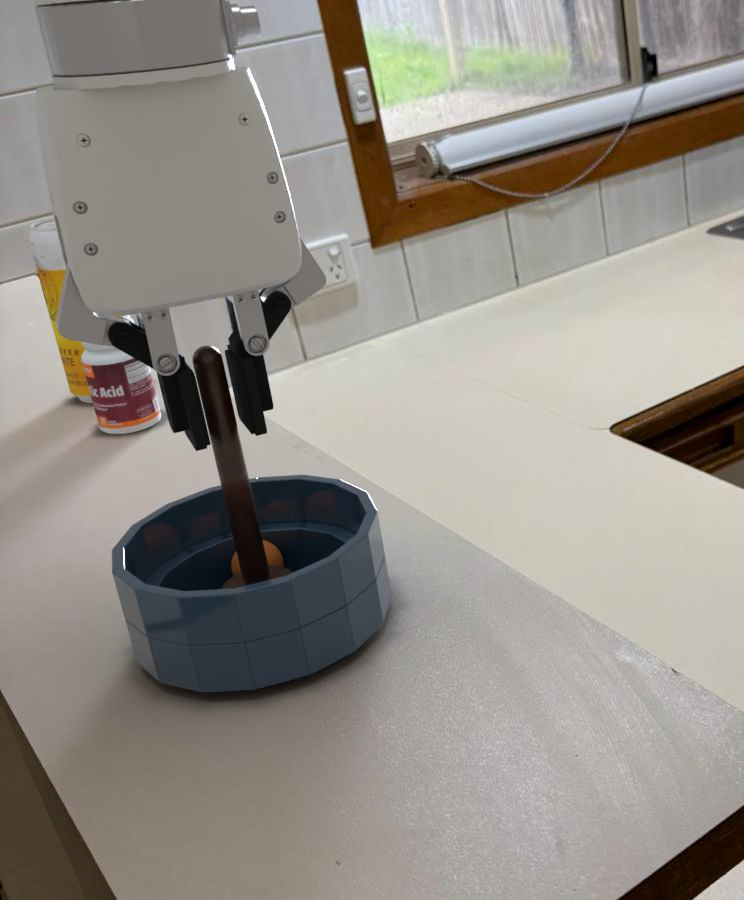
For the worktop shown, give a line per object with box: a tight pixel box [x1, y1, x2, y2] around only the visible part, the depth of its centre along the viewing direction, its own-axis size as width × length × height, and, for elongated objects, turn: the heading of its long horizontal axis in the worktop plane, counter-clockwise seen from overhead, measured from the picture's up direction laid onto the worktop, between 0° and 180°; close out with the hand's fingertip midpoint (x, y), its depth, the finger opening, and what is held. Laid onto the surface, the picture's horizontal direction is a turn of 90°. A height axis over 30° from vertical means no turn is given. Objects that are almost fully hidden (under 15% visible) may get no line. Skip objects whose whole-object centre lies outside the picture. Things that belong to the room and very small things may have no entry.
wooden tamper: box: [191, 345, 293, 589], centre depth 59 cm, size 4×4×15 cm
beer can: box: [28, 216, 131, 404], centre depth 96 cm, size 6×6×15 cm
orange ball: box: [231, 540, 283, 576], centre depth 64 cm, size 3×3×3 cm
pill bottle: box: [81, 317, 162, 435], centre depth 90 cm, size 5×5×8 cm
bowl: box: [111, 474, 393, 693], centre depth 60 cm, size 13×13×6 cm
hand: (225, 431), depth 57 cm, fingers closed
